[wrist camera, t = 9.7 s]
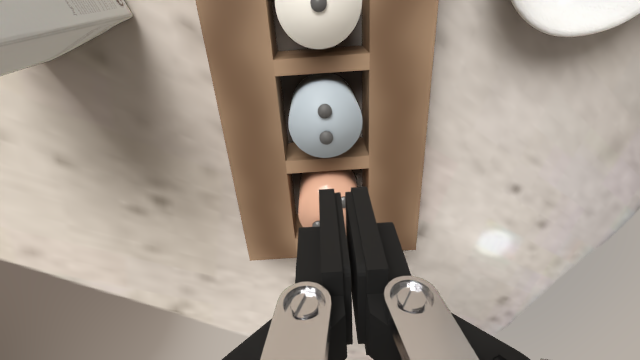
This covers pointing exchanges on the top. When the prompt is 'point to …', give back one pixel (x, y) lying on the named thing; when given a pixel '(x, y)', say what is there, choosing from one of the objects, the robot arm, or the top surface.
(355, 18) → the one-pip button
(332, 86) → the two-pip button
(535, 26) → the spoon rest
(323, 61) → the wooden three-slot caddy
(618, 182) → the top surface
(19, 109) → the top surface
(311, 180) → the three-pip button
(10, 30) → the skincare box
